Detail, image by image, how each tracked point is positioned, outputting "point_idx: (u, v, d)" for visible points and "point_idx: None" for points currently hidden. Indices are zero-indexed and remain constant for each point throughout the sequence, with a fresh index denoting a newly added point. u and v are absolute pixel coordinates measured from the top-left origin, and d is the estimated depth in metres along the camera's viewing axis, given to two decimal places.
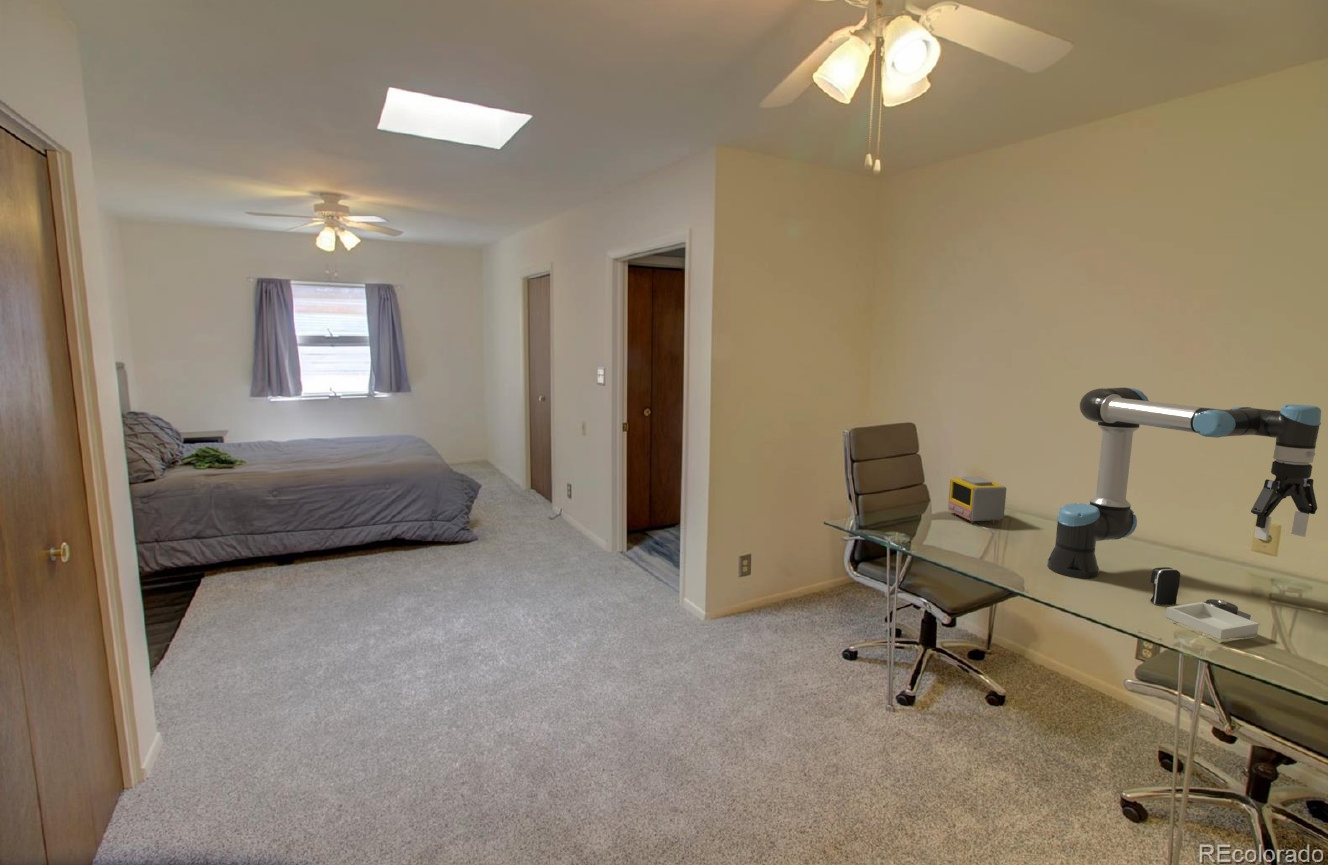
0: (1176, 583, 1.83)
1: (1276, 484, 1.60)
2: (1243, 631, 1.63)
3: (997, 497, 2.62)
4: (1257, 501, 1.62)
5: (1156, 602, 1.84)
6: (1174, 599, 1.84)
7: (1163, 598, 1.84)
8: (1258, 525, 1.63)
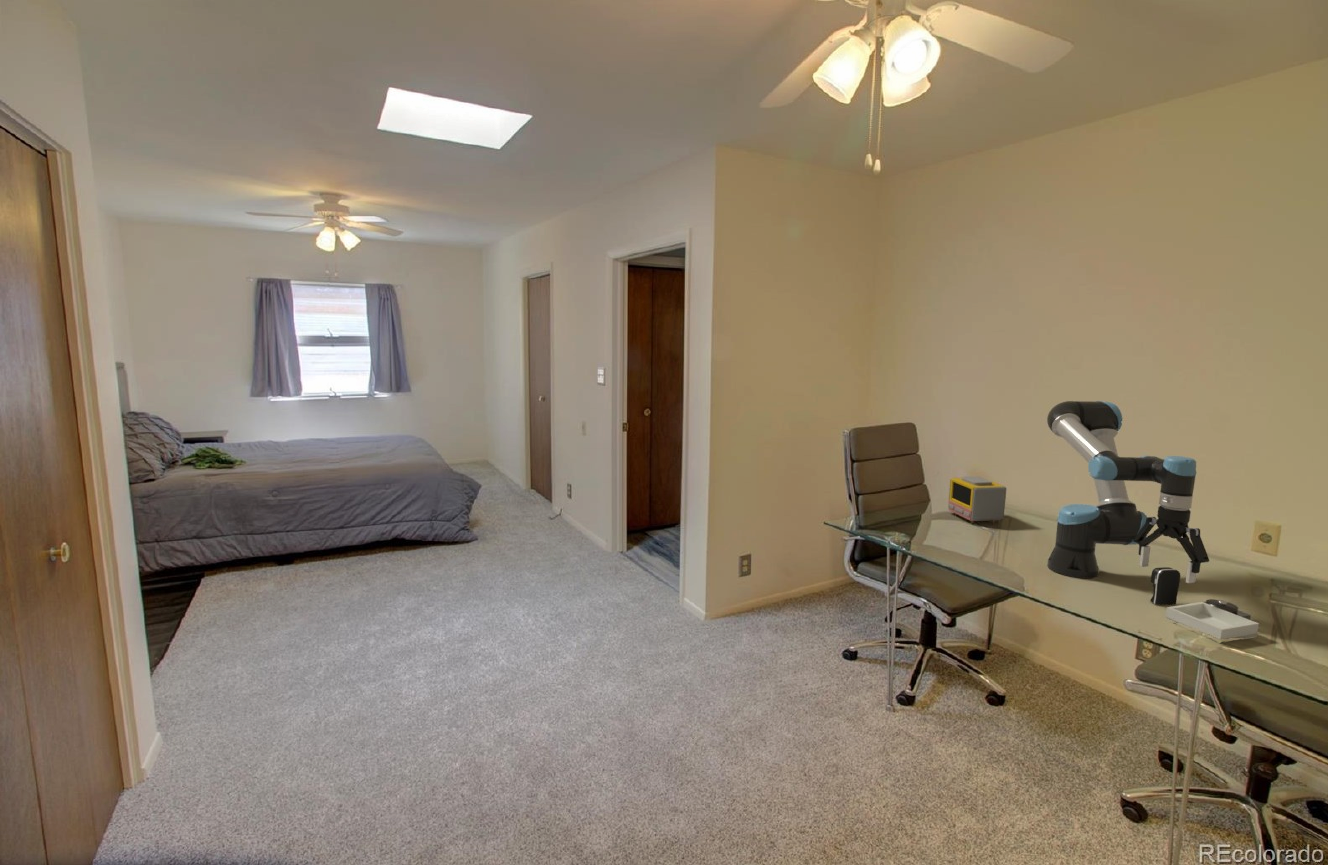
0: (1176, 583, 1.83)
1: (1147, 519, 1.88)
2: (1243, 631, 1.63)
3: (997, 497, 2.62)
4: None
5: (1156, 602, 1.84)
6: (1174, 599, 1.84)
7: (1163, 598, 1.84)
8: None
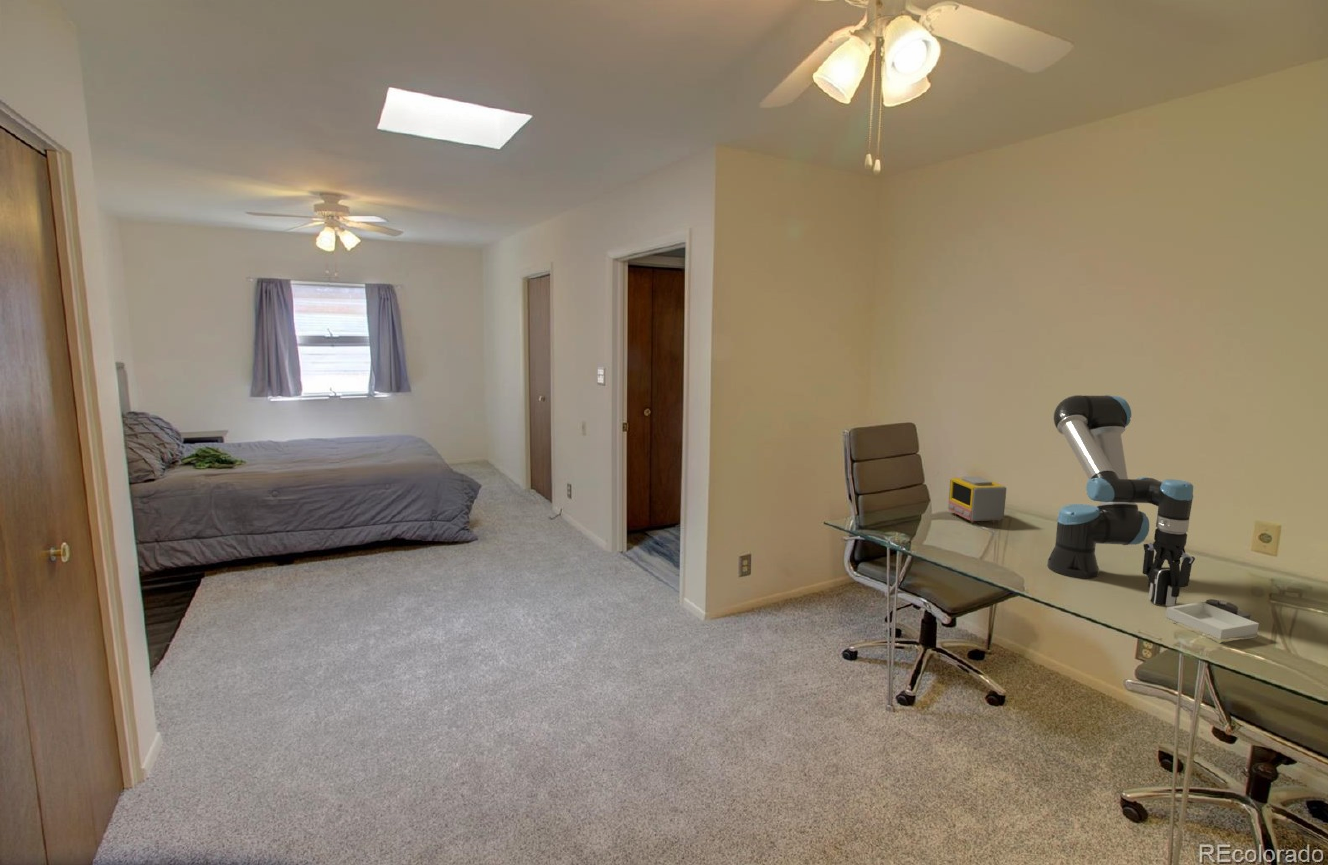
0: None
1: (1144, 546, 1.89)
2: (1243, 631, 1.63)
3: (997, 497, 2.62)
4: None
5: (1156, 602, 1.84)
6: None
7: (1163, 598, 1.84)
8: None
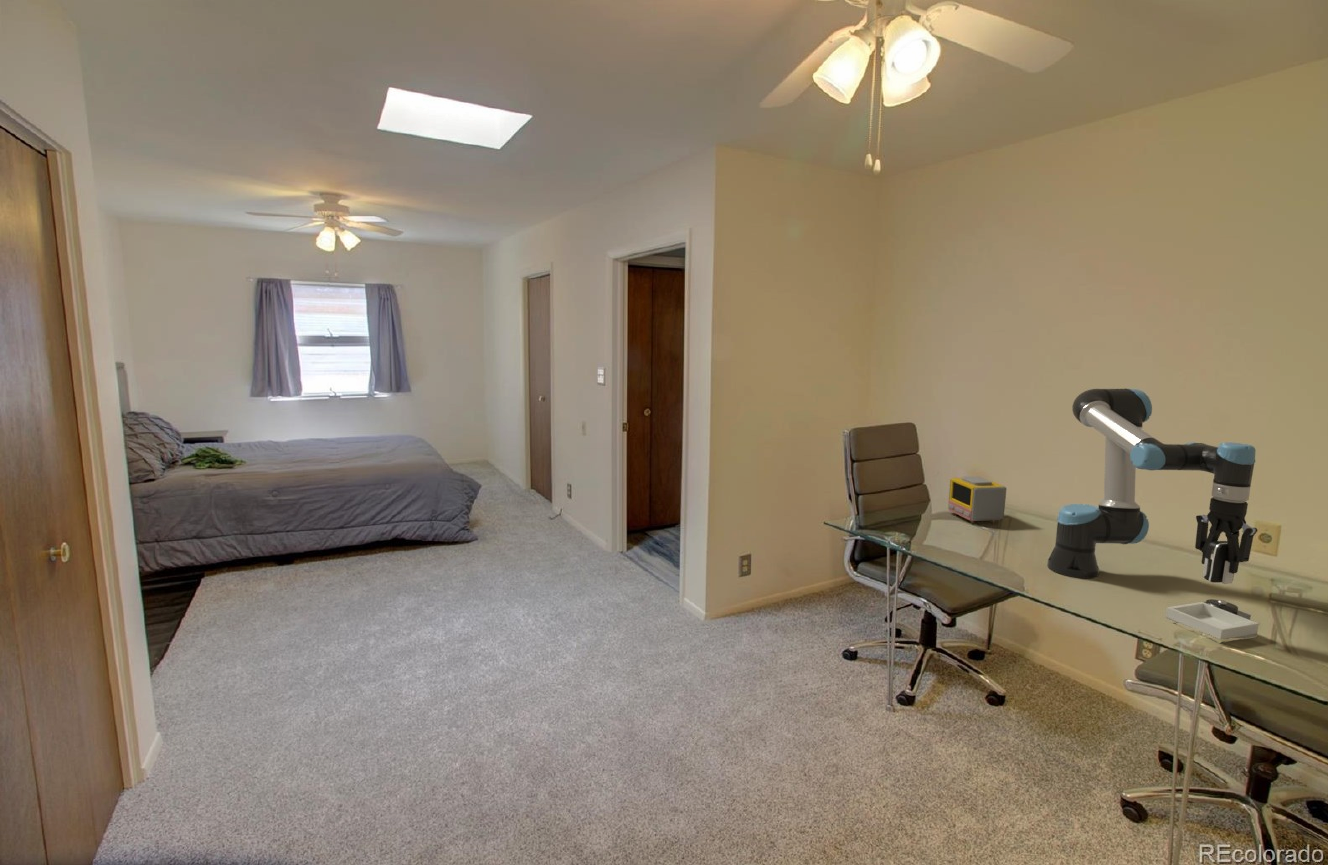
0: None
1: (1197, 518, 1.71)
2: (1243, 631, 1.63)
3: (997, 497, 2.62)
4: None
5: (1212, 579, 1.66)
6: None
7: (1220, 575, 1.66)
8: None
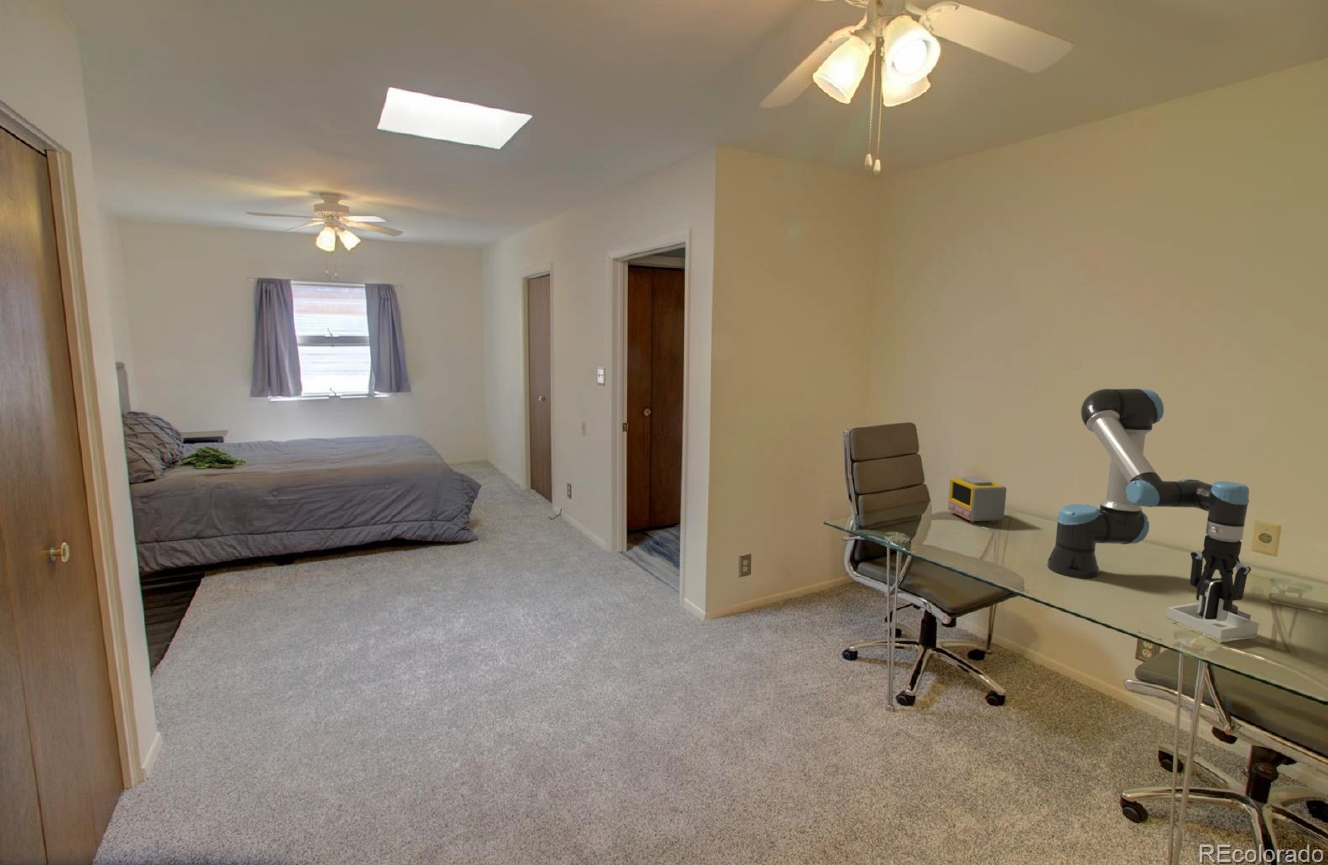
0: None
1: (1192, 555, 1.72)
2: (1243, 631, 1.63)
3: (997, 497, 2.62)
4: None
5: (1206, 616, 1.68)
6: None
7: (1214, 612, 1.67)
8: None
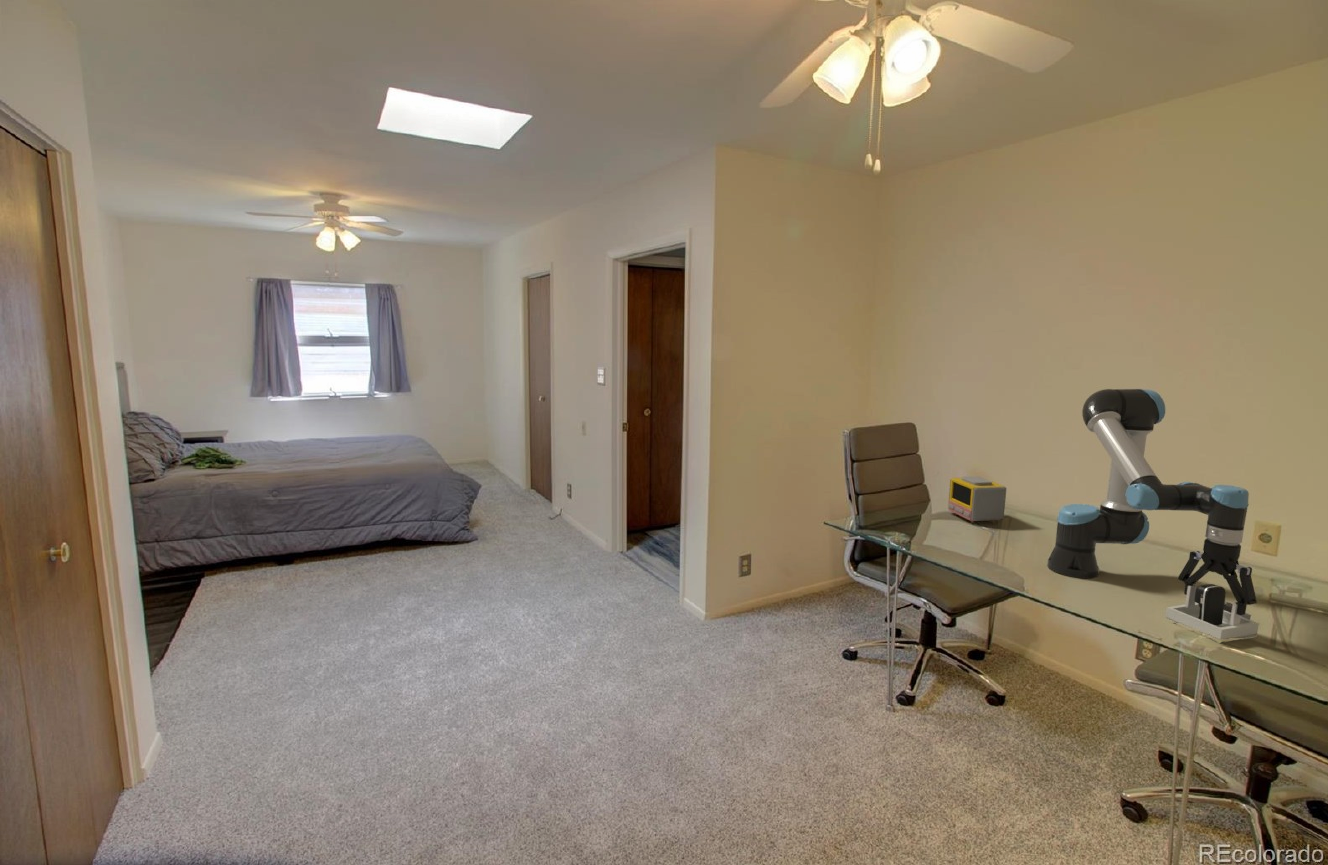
0: (1222, 601, 1.68)
1: (1190, 554, 1.73)
2: (1243, 631, 1.63)
3: (997, 497, 2.62)
4: None
5: None
6: (1220, 619, 1.69)
7: (1210, 618, 1.68)
8: None
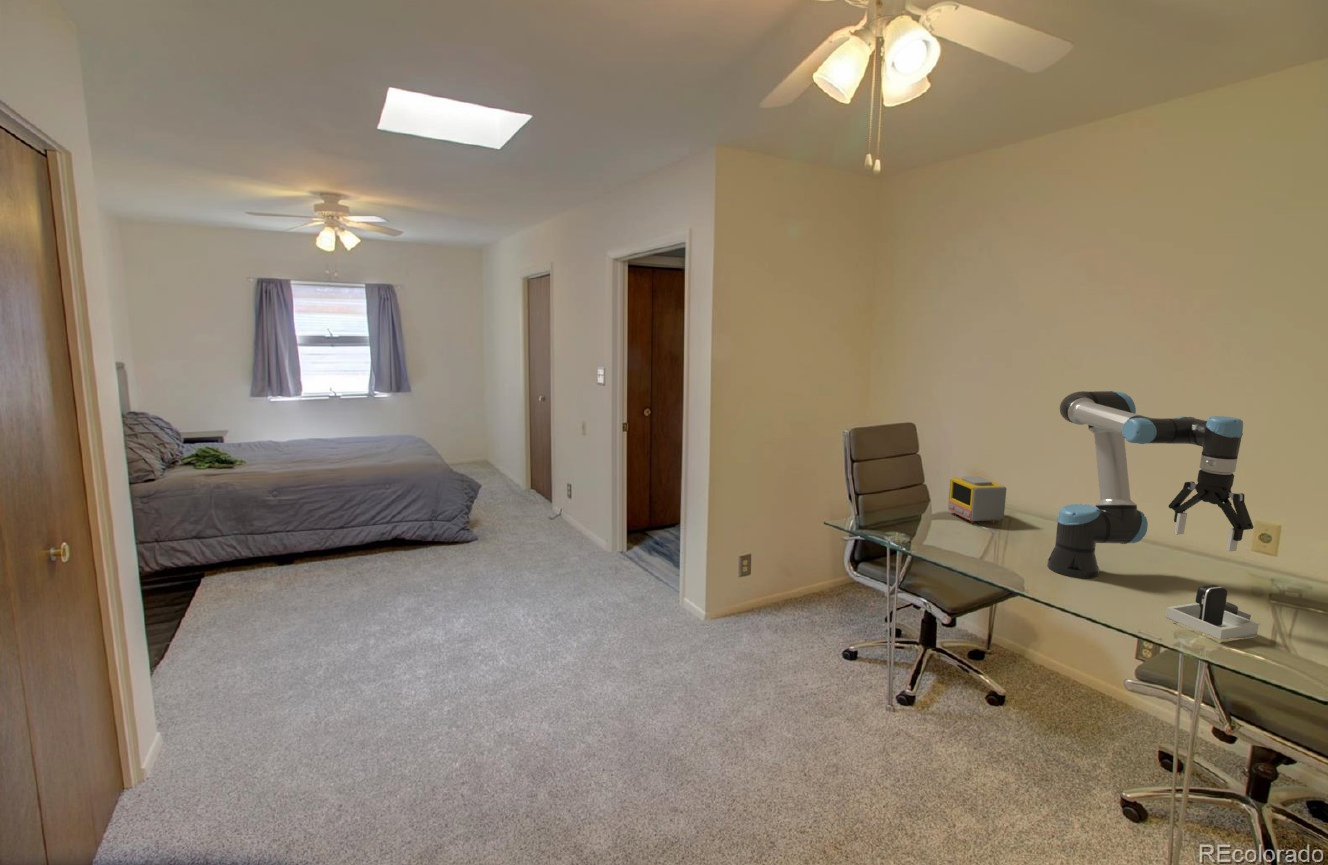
0: (1223, 602, 1.68)
1: (1185, 484, 1.76)
2: (1243, 631, 1.63)
3: (997, 497, 2.62)
4: None
5: None
6: (1221, 619, 1.69)
7: (1211, 619, 1.68)
8: None
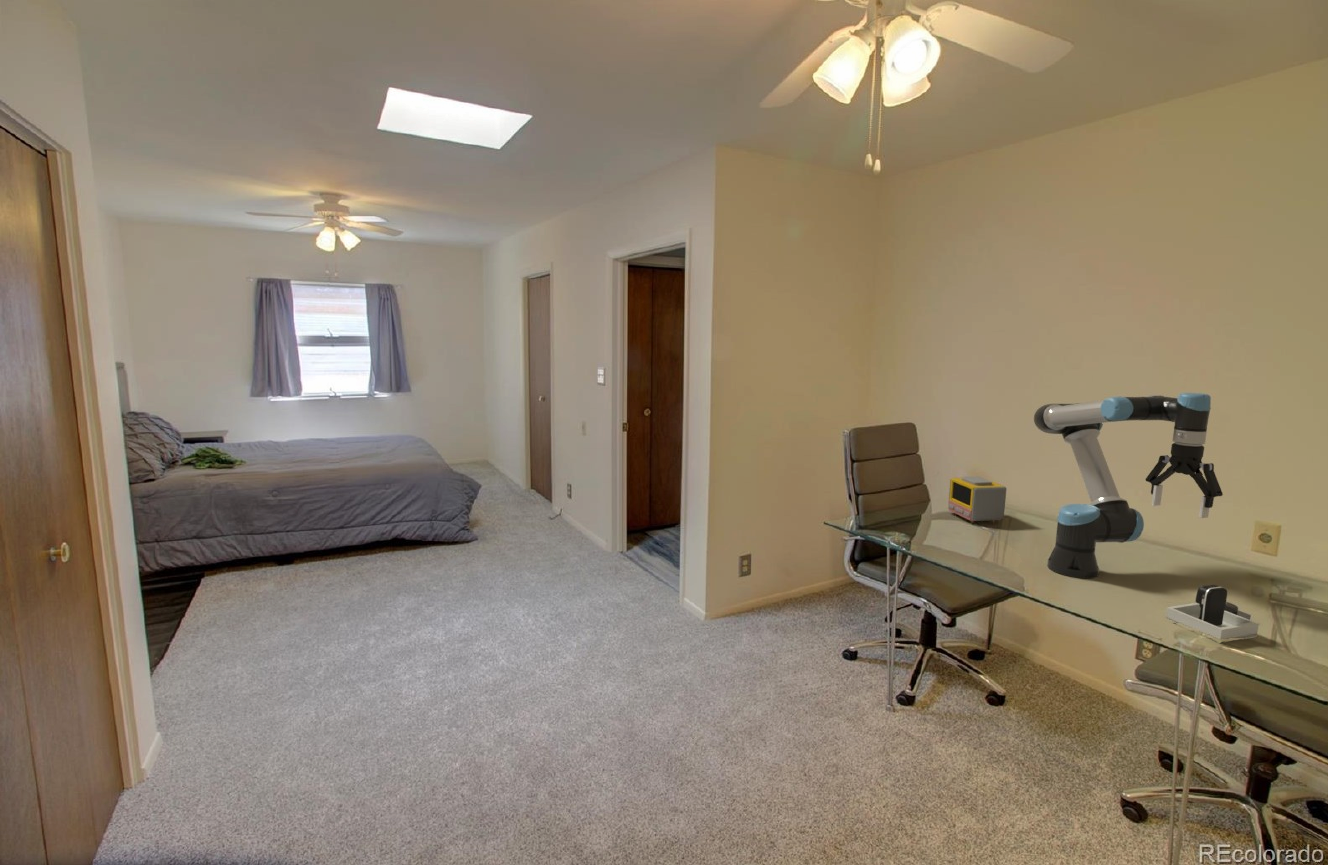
0: (1223, 602, 1.68)
1: (1160, 458, 1.88)
2: (1243, 631, 1.63)
3: (997, 497, 2.62)
4: None
5: None
6: (1221, 619, 1.69)
7: (1211, 619, 1.68)
8: None
